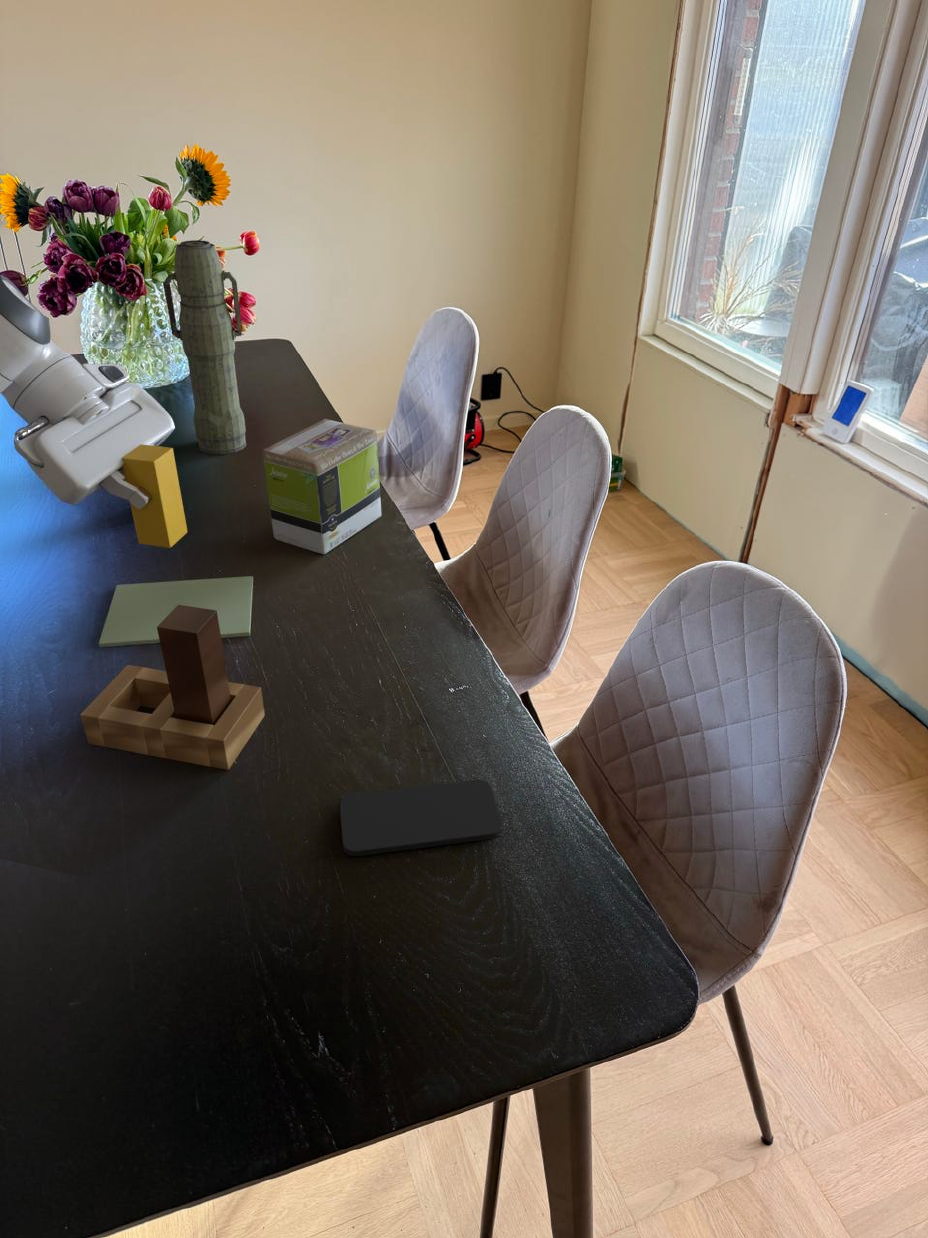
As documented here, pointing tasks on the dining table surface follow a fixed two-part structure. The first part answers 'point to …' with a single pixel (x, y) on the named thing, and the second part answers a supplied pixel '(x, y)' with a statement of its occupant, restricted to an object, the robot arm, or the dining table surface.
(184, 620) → the walnut peg
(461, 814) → the phone
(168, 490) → the yellow peg
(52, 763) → the dining table surface
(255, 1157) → the dining table surface
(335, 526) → the tea box
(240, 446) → the thermos
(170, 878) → the dining table surface
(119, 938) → the dining table surface
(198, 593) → the mat
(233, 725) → the stand
